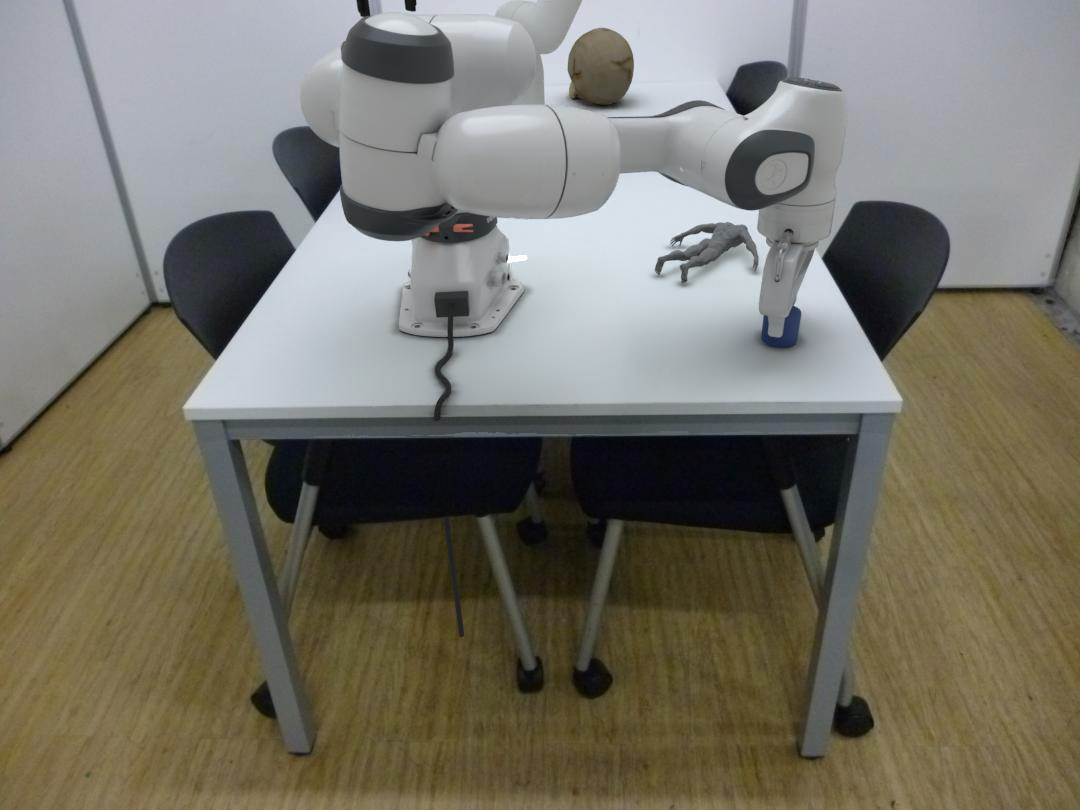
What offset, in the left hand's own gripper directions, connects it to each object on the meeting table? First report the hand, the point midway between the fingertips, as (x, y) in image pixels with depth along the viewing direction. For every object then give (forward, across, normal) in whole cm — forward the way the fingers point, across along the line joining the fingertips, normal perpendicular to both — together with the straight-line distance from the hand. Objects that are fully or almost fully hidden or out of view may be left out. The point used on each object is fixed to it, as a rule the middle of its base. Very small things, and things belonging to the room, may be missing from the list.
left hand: (782, 318), depth 110 cm
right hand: (-30, +46, +85) cm, 101 cm away
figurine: (+3, +23, +15) cm, 28 cm away
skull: (+2, +125, +72) cm, 144 cm away
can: (+3, 0, 0) cm, 3 cm away
